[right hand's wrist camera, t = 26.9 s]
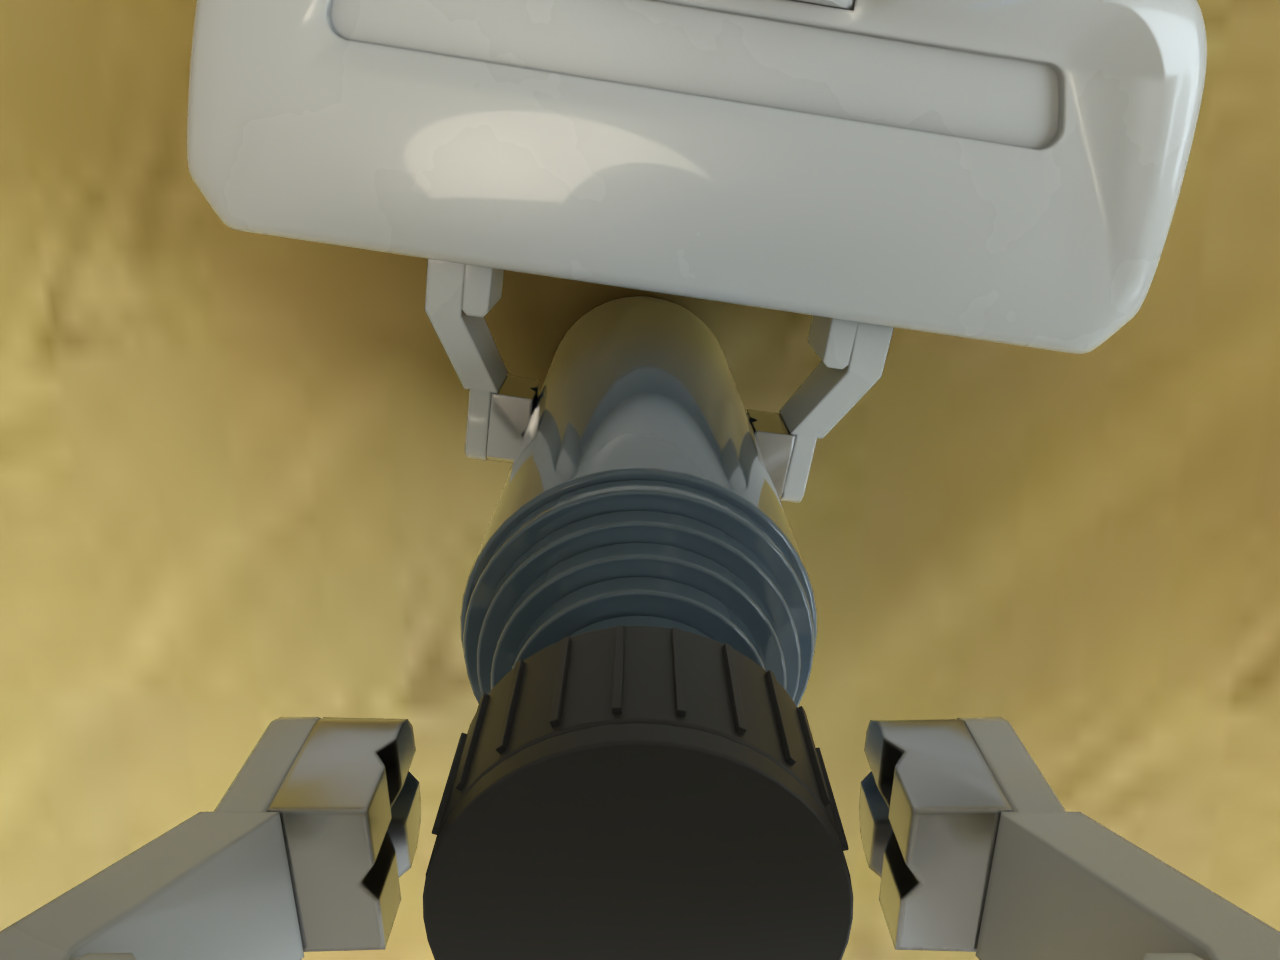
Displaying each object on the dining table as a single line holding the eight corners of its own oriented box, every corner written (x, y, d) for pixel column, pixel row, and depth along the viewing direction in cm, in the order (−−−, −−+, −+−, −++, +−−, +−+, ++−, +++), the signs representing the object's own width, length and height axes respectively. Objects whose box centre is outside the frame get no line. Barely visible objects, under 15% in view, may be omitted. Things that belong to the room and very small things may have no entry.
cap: (878, 830, 11) (931, 980, 9) (577, 962, 11) (564, 1126, 10) (713, 555, 9) (730, 661, 8) (385, 723, 10) (326, 858, 8)
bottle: (741, 306, 26) (954, 666, 8) (715, 478, 28) (844, 1067, 10) (557, 286, 26) (379, 610, 8) (543, 460, 28) (374, 1029, 10)
